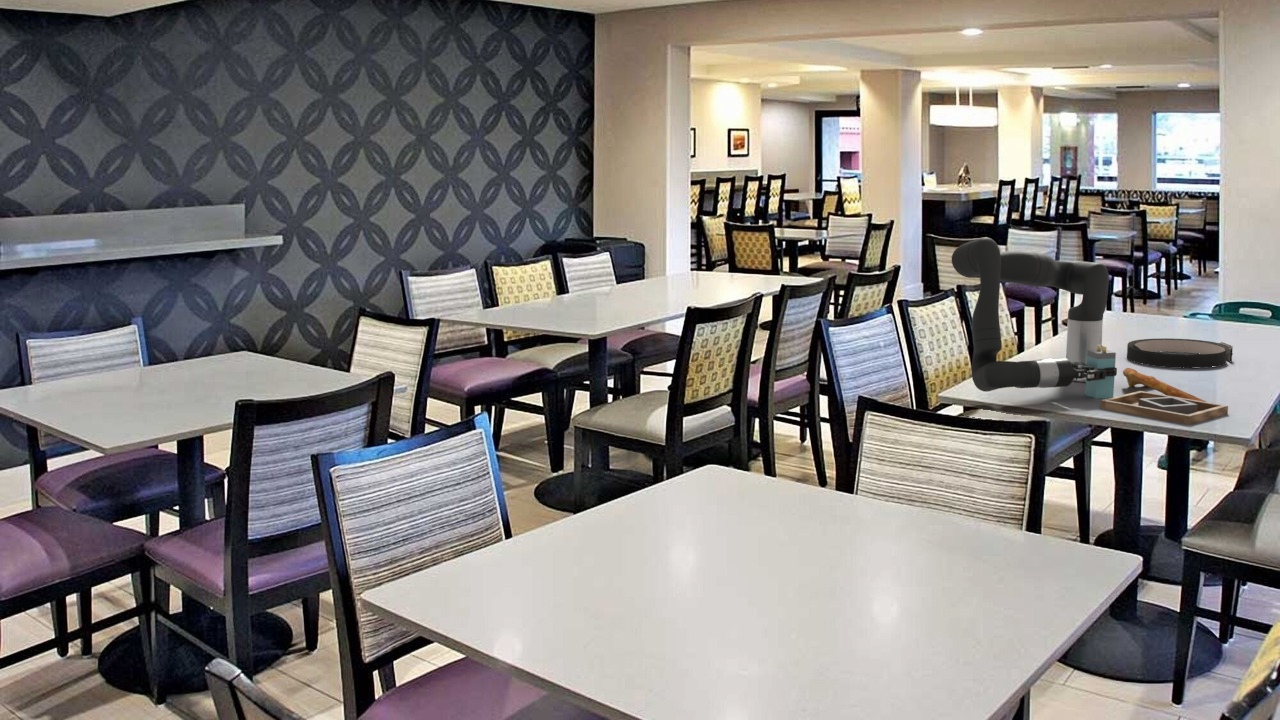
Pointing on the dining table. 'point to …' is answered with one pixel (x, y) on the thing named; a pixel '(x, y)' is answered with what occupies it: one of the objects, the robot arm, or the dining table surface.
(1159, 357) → the belt
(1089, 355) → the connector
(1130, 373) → the bone
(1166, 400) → the socket
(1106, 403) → the walled box
